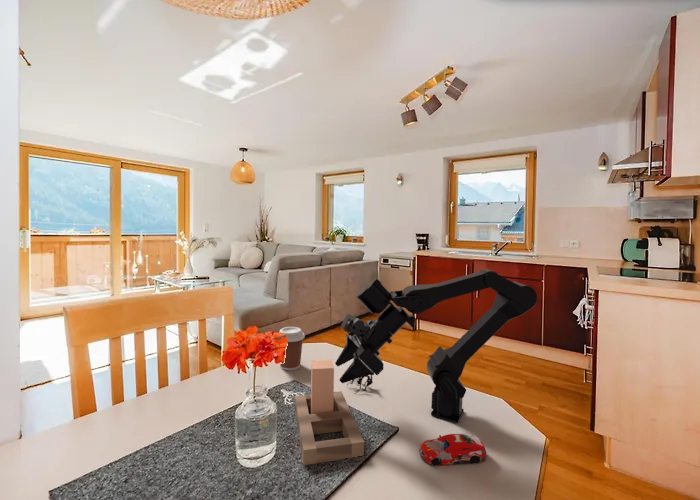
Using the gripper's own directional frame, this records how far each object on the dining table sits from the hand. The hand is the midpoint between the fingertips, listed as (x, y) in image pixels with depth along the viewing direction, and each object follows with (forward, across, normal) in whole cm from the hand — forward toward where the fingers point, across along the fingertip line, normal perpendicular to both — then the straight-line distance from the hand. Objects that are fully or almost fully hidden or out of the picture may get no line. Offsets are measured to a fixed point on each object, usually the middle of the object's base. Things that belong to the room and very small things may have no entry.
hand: (338, 372), depth 80 cm
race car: (-7, +17, +23) cm, 29 cm away
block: (+10, 0, +5) cm, 11 cm away
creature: (+2, -14, +13) cm, 19 cm away
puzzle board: (+10, +5, +5) cm, 12 cm away
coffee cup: (+16, -30, -1) cm, 35 cm away
